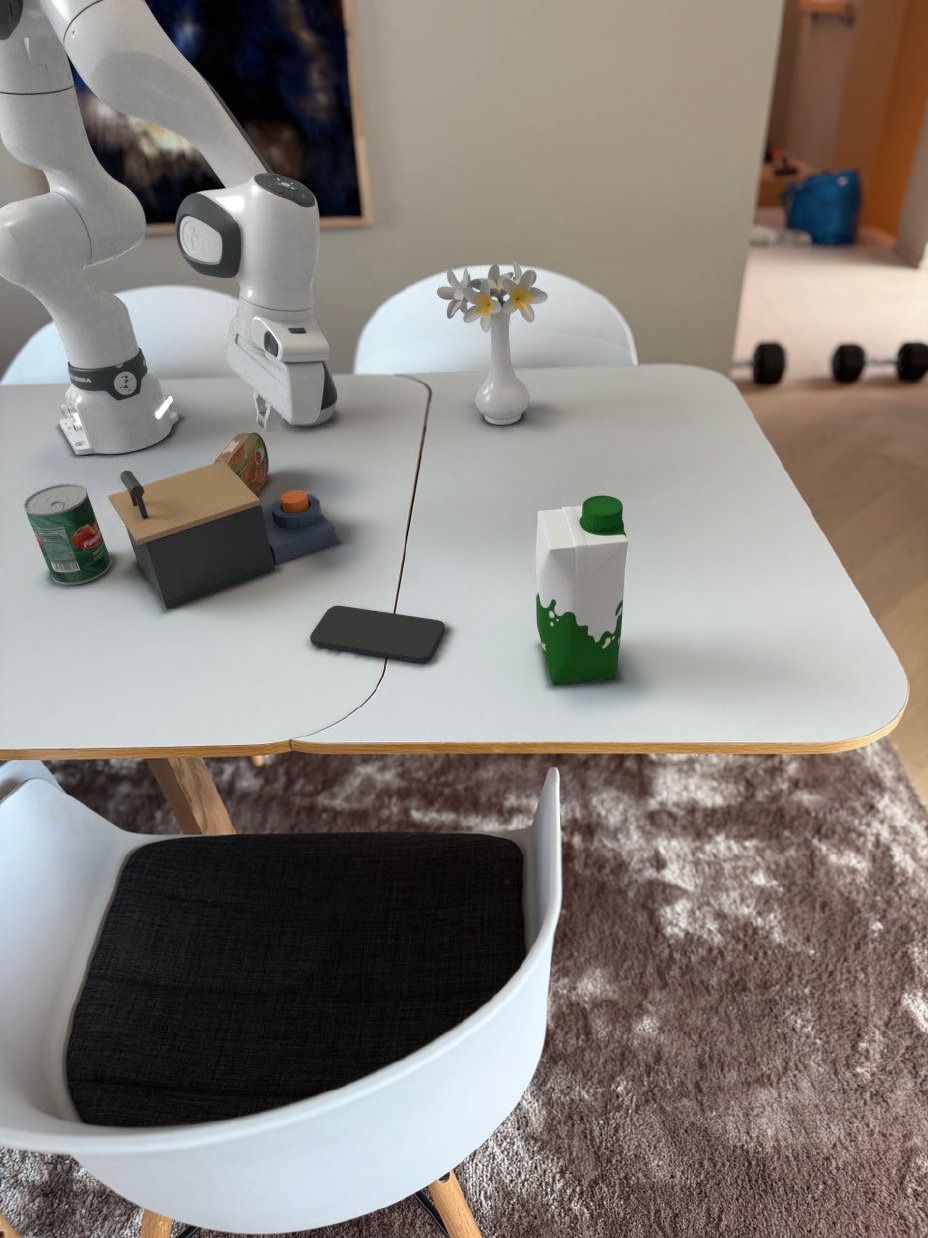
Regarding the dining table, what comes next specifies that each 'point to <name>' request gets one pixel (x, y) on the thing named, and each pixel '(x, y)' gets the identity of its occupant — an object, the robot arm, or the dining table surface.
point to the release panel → (297, 530)
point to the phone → (378, 633)
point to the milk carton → (581, 589)
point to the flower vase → (496, 333)
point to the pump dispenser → (326, 397)
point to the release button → (294, 501)
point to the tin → (247, 459)
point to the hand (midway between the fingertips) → (267, 427)
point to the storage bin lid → (180, 501)
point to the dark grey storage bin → (206, 557)
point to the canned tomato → (68, 533)
